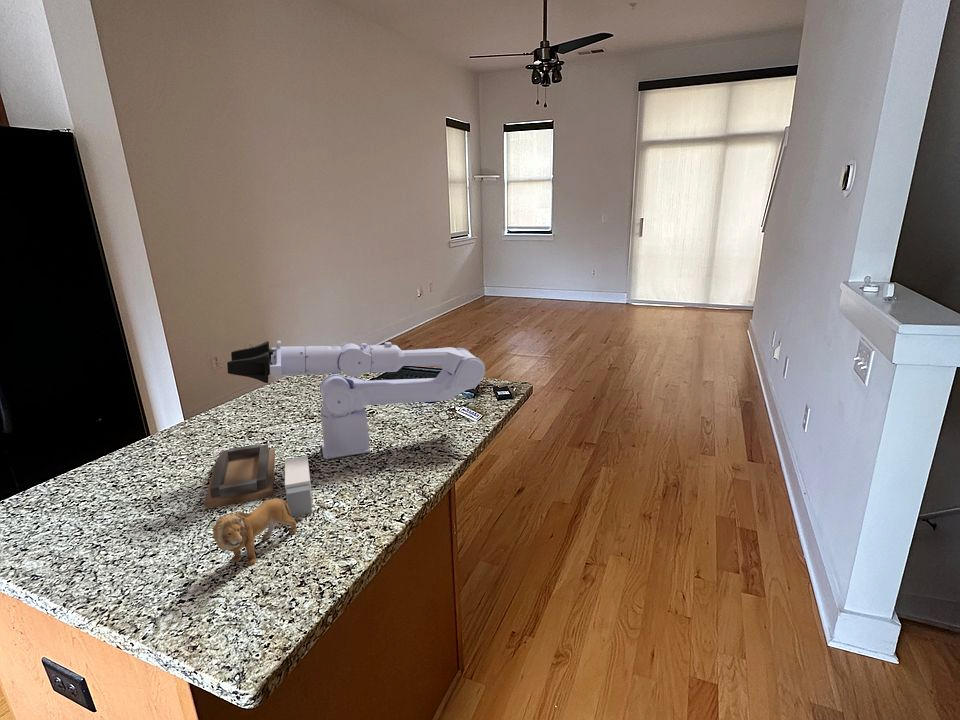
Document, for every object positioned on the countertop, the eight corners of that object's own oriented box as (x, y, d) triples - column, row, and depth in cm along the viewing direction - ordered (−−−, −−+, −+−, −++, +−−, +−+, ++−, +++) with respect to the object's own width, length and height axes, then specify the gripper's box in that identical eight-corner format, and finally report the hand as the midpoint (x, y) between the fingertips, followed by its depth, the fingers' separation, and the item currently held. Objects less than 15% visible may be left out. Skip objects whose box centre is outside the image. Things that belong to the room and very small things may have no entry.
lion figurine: (240, 584, 70) (230, 528, 68) (209, 577, 72) (199, 521, 69) (306, 524, 84) (299, 475, 81) (278, 519, 85) (271, 470, 83)
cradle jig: (275, 453, 108) (273, 440, 107) (273, 496, 92) (271, 481, 91) (217, 463, 105) (215, 449, 104) (205, 508, 88) (202, 493, 87)
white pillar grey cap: (310, 479, 98) (307, 455, 96) (313, 512, 87) (310, 486, 85) (288, 483, 96) (284, 459, 95) (288, 517, 86) (284, 490, 84)
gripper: (303, 333, 108) (232, 333, 103) (305, 349, 95) (224, 351, 90) (303, 365, 110) (233, 367, 105) (306, 386, 97) (226, 389, 92)
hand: (229, 362), depth 98 cm, fingers open, 7 cm apart
